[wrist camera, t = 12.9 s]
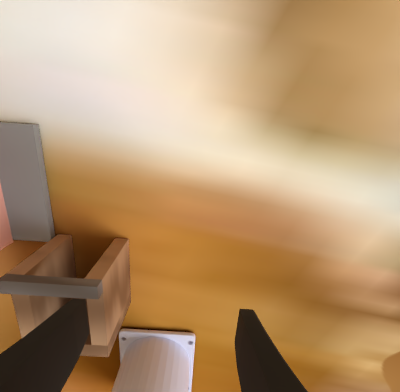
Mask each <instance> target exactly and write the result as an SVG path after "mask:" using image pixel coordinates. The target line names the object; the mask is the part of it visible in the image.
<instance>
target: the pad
mask: <svg viewBox="0 0 400 392" xmlns="http://www.w3.org/2000/svg"><path fill="white" fill-rule="evenodd" d="M0 183H1V188H2V192H3V197H4V202H5V206H6V211H7V215H8V220H9V225H10V229H11V234H12V238H13V240H26V241H42V242H49V241H50V240H51V239H52V238H54V237H55V231H54V225H53V218H52V211H51V205H50V198H49V191H48V185H47V178H46V171H45V165H44V158H43V151H42V145H41V138H40V131H39V125H38V124H24V123H10V122H0Z"/></svg>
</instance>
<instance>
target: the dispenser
mask: <svg viewBox="0 0 400 392" xmlns="http://www.w3.org/2000/svg"><path fill="white" fill-rule="evenodd" d="M0 293H2V294H11V296H12V300H13V304H14V308H15V312H16V316H17V321H18V325H19V329H20V333H21V337H22V338H23V337H24V336H26V335H27V334H28V333H30V332H31V331H32V330H33V329H35V328H36V327H37V326H39V325H40V324H41V323H42V322H44V321H45V320H46V319H47V318H49V317H50V316H51V315H52V314H54V313H55V312H56V311H57V310H59V309H60V308H61V307H62V306H64V305H65V304H66V303H67V302H69V301H70V300H71V299H86V307H87V316H88V324H89V335H88V338H87V340H86V343H85V345H84V347H83V350H82V352H81V354H80V356H95V357H109V355H110V352H111V350H112V347H113V345H114V342H115V340H116V337H117V335H118V332H119V330H120V328H121V325H122V323H123V320H124V318H125V315H126V313H127V310H128V308H129V305H130V303H131V293H130V265H129V239H124V238H115V239H114V240H113V242H112V243H111V244H110V246H109V247H108V248H107V249H106V251H105V252H104V253H103V255H102V256H101V257H100V259H99V260H98V261H97V263H96V264H95V265H94V266H93V268H92V269H91V270H90V272H89V273H88V274H87V276H86V277H85V278H84V279H83V278H77V276H76V268H75V260H74V252H73V244H72V236H71V235H63V234H58V235H56V236H55V237H54V238H52V239H51V240H50V241H49V242H47V243H46V244H45V245H43V246H42V247H41V248H39V249H38V250H37V251H35V252H34V253H33V254H31V255H30V256H29V257H27V258H26V259H25V260H24V261H22V262H21V263H20V264H18V265H17V266H16V267H14V268H13V269H12V270H10V271H9V272H8V273H6V274H5V275H4V276H2V277H1V278H0Z"/></svg>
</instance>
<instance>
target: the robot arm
mask: <svg viewBox="0 0 400 392" xmlns="http://www.w3.org/2000/svg"><path fill="white" fill-rule="evenodd" d="M88 335H89V324H88V316H87V307H86V299H71V300H70V301H69V302H67V303H66V304H65V305H64V306H62V307H61V308H60V309H59V310H57V311H56V312H55V313H54V314H52V315H51V316H50V317H49V318H47V319H46V320H45V321H44V322H42V323H41V324H40V325H39V326H37V327H36V328H35V329H33V330H32V331H31V332H30V333H28V334H27V335H26V336H24V337H23V338H22V339H20V340H19V341H18V342H16V343H15V344H14V345H12V346H11V347H10V348H8V349H7V350H5V351H4V352H3V353H1V354H0V392H61V390H62V388H63V386H64V385H65V383H66V381H67V379H68V377H69V375H70V374H71V372H72V370H73V368H74V366H75V364H76V362H77V361H78V359H79V357H80V354H81V352H82V350H83V347H84V345H85V343H86V340H87V338H88ZM119 347H120V364H121V365H120V368H119V371H118V374H117V377H116V380H115V383H114V386H113V389H112V392H191V386H192V374H193V361H194V349H195V334H193V333H189V332H173V331H157V330H140V329H121V330H120V332H119ZM235 351H236V362H237V370H238V375H239V380H240V386H241V391H242V392H308V391H307V390H306V389H305V388H304V386H303V385H302V384H301V382H300V381H299V380H298V378H297V377H296V376H295V374H294V373H293V371H292V370H291V369H290V367H289V366H288V364H287V363H286V362H285V360H284V359H283V357H282V356H281V354H280V353H279V351H278V350H277V348H276V347H275V345H274V344H273V342H272V340H271V339H270V337H269V336H268V334H267V332H266V331H265V329H264V327H263V326H262V324H261V322H260V321H259V319H258V317H257V315H256V313H255V312H254V311H253V310H249V309H240V311H239V317H238V323H237V330H236V336H235Z"/></svg>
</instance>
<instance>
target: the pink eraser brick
mask: <svg viewBox="0 0 400 392" xmlns="http://www.w3.org/2000/svg"><path fill="white" fill-rule="evenodd" d="M11 243H13V238H12V234H11V229H10V225H9V220H8V215H7V211H6V206H5V202H4V197H3V192H2V188H1V183H0V250H1V249H3V248H5V247H6V246H8V245H9V244H11Z"/></svg>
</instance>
